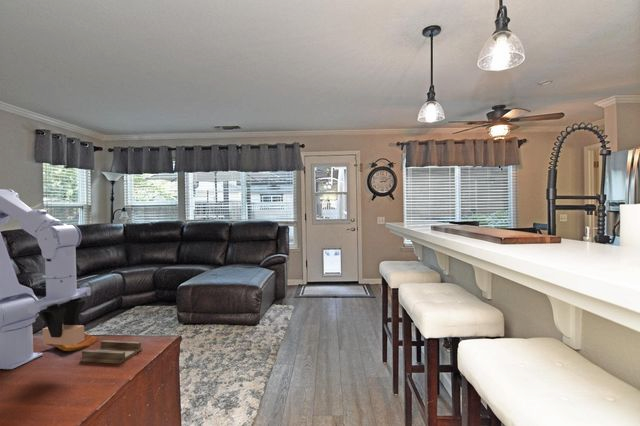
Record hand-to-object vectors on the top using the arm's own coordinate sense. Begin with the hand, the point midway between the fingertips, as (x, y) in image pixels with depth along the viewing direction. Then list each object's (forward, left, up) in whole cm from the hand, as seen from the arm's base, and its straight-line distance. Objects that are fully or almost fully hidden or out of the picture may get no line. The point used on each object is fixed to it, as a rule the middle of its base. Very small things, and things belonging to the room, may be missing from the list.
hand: (63, 333), depth 80 cm
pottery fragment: (-10, +13, -9) cm, 19 cm away
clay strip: (0, 0, -2) cm, 2 cm away
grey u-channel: (+6, +9, -9) cm, 13 cm away
